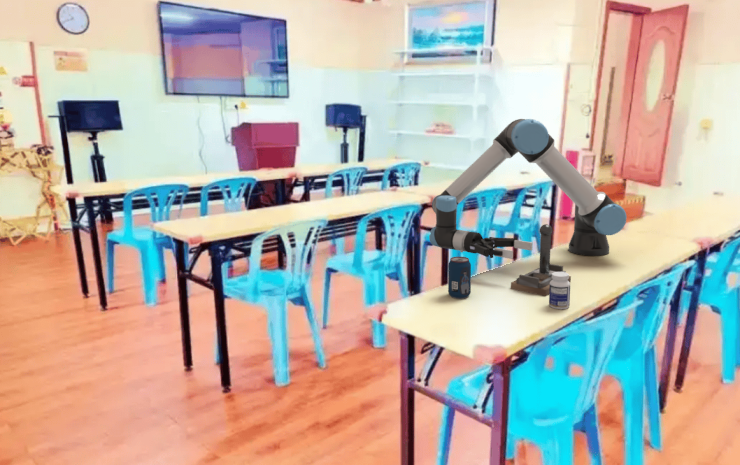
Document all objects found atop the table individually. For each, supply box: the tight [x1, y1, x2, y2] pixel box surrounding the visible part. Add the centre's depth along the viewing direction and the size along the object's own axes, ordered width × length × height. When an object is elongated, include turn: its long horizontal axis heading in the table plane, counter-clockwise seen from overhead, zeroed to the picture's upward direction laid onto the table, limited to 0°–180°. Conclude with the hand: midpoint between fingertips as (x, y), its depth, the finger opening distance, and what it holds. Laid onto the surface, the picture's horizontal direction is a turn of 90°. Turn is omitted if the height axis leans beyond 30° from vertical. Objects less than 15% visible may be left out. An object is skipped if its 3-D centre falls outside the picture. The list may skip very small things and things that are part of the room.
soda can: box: [447, 256, 472, 300], centre depth 173 cm, size 7×7×12 cm
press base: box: [510, 263, 572, 297], centre depth 182 cm, size 18×13×5 cm
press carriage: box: [533, 223, 556, 280], centre depth 181 cm, size 5×6×18 cm
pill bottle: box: [548, 272, 571, 310], centre depth 162 cm, size 6×6×10 cm
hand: (522, 250), depth 187 cm, fingers open, 13 cm apart
